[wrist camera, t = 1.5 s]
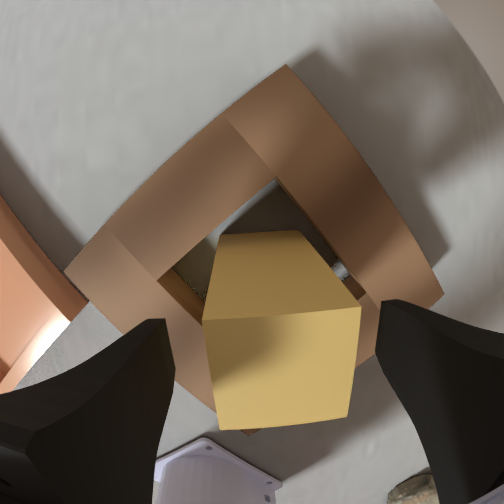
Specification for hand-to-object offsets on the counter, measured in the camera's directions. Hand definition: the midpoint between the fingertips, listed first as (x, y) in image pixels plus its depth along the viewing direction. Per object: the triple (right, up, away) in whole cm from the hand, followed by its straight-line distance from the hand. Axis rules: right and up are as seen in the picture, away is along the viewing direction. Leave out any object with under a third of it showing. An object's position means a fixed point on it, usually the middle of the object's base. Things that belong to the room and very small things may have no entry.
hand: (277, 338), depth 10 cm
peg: (0, +2, +7) cm, 7 cm away
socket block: (0, +2, +7) cm, 7 cm away
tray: (-19, 0, +6) cm, 20 cm away
